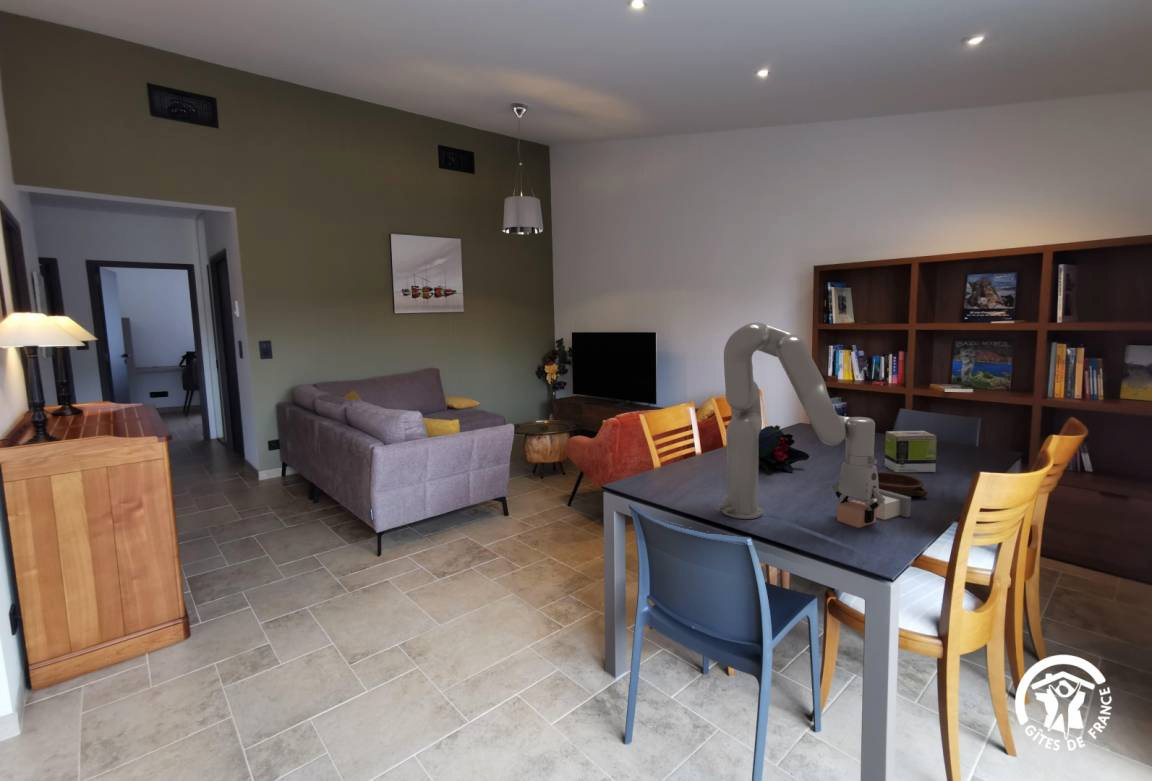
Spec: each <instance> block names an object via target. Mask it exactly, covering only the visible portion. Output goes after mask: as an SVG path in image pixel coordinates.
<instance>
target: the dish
mask: <svg viewBox="0 0 1152 781" xmlns="http://www.w3.org/2000/svg"><path fill="white" fill-rule="evenodd" d="M877 473H878V482H879V489H881V490H885V491H889V492H893V493H896V494H900V495H904V496H908V497H913V496H918V497H927V495H928V490H926V489H925V488H923V486H924V482H923V481H922V480H921V479H919V478H917V477H915V476H913V475H912V476H911V475H907V474H903V473H897V472H887V471H886V472H885V471H877Z"/></svg>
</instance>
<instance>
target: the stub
mask: <svg viewBox="0 0 1152 781" xmlns="http://www.w3.org/2000/svg"><path fill="white" fill-rule="evenodd" d="M840 503H841V502H840ZM840 503H838V504H837V512H836V513H837V514H836V520H837V522H840V523H842V524H846V525H848V526H852V527H854V528H858V529H860V528H862V527H865V526H870V525H872V524H876V523H877V517H876V513H877V508H876V509H874V520H873V522H871V523H865V522H864V521H865V510H867V508H866V505H865V503H864V502H863V500H860V499H852V500H848V502H844V503H841V504H840ZM870 505H871V504H870Z"/></svg>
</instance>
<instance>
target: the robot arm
mask: <svg viewBox="0 0 1152 781" xmlns="http://www.w3.org/2000/svg"><path fill="white" fill-rule="evenodd" d="M756 351H759V352H761V353H765V354H766V355H770V356H772V357H775V358H777V359H778V360H779V363H780V364H781V366H782V368H783V371H784V372H785V374H786V376H787V378H788V380H789V381H790V384H791V386H792V387H793V389H794V392H795V394H796V396H797V399H798V400H799V402H800V404H801V405H802V408H803V409H804V412H805V414H806V416H807V419H808V421H809V423H810V424H811V426H812V428H813V430H814V432H815V434H816V436H817V437H818V439H819V440H820V441H821V443H823V444H825V445H828V446H837V445H839V444H841V443H842V442H843V441H844V440H845V442H844V444H845V447H844V461H843V462H842V464H841V469H840V473H839V479H838V482H836V483H834V484H833V485H832V486H831V487H832V490H833V491H834V493H835V495H836V497H837V499H838V501H839V502H840V503H839V504H841V503H844V502H848V501H849V499H850V498H853V499H855V500H859V501H864V503H865V505H866V508H867V510H865V521H864V522H865V523H871V522H873V520H874V509H876V508H877V507H879V506H880V505H881V504H882V503H883V502H884V501H885V498H884V497H883V496H882V495H881V494H880V493H879V482H878V473H877V472H878V468H877V466H876V464H878V459H876V458H875V436H876V435H875V434H876V433H875V432H876V422H875V421H874V419H872V418H870V417H867V416H866V417H864V416H852V417H851V416H843V415H839V414H838V413H837V411H836V409H835V406H834V404H833V402H832V400H831V398H830V395H829V392H828V389H827V386H826V385H827V384H826V382H825V380H824V378H823V375H822V374H821V372H820V370H819V368H818V366H817V364H816V363H815V362H816V361H814V359H813V357H812V354H811V352H810V351H809V349H808V345H807V342H806V341H805V338H803V337H801V336H799V335H797V334H794V333H791V332H788V331H786V330H785V331H784V330H782V329H779V328H777V327H773V326H771V325H768V324H766V323H762V322H750V323H747V324H745V325H743V326H742V327H740V328H737V330H735V331H734V332H733V333H732V334H731V335H730V336H729V337H728V339H727V341H726V343H725V345H724V349H723V370H724V372H723V374H724V384H725V386H724V388H725V400H726V403H727V404H728V406H729V407H730V413H731V419H730V420H729V421H728V423H727V427H726V431H725V432H726V433H725V437H726V498H723V502H722V503H719V504H716V505H715V506H714V507H715V510H716V511H717V512H720V511H721V512H722V514H723V515H725V516H728V517H730V518H734V519H740V520H741V519H742V520H750V519H757V518H760V517H761V516H763V512H764V510H763V508H761V506H759V505H758V504H759V463H758V460H759V451H758V439H759V433H760V431H761V430H762V429H763V428H762V427H763V420H762V418H763V417H762V407H761V392H760V388H759V386H758V384H757V382H755V381H754V367H753V366H754V365H753V354H754V353H755V352H756ZM874 499H877V501H876V502H874ZM870 504H871V505H870Z"/></svg>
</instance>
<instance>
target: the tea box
mask: <svg viewBox="0 0 1152 781" xmlns="http://www.w3.org/2000/svg"><path fill="white" fill-rule="evenodd" d="M937 438H938V435H937V434H936V435H935V434H934V433H931V432H928V431H926V430H895V431H894V430H891V431H888V430H886V431H885V441H884V443H885V447H884V467H886V468H887V467H888V468H887V469H889V470H891V471H892V470H893V471H892V472H893V473H936V470H937V468H936V466H937V442H938V441H937Z"/></svg>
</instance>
